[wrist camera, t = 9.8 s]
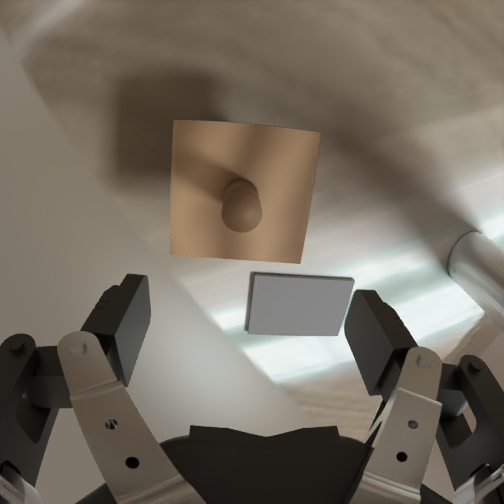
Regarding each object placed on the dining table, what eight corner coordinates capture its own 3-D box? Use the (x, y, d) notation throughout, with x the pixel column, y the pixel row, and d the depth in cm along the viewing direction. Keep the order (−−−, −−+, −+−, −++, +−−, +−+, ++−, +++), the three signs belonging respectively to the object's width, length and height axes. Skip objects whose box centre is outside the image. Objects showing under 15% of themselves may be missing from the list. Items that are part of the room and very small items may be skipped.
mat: (353, 278, 42) (354, 280, 41) (336, 333, 46) (337, 335, 45) (254, 273, 41) (255, 275, 40) (247, 331, 45) (247, 333, 44)
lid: (318, 132, 24) (340, 137, 19) (298, 258, 29) (311, 292, 24) (176, 119, 23) (158, 121, 18) (172, 249, 28) (158, 282, 23)
